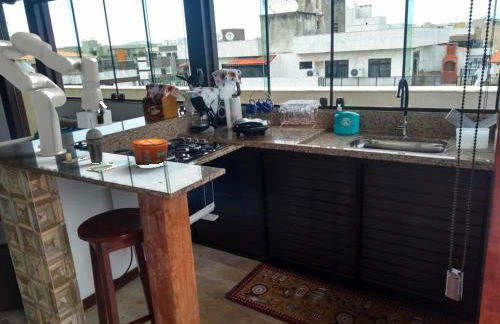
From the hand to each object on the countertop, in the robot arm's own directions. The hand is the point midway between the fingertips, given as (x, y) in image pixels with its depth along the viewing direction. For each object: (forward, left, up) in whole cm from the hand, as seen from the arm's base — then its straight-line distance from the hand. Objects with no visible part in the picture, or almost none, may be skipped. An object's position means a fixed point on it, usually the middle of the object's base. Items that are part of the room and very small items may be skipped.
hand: (95, 122), depth 175 cm
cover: (0, 0, -1) cm, 1 cm away
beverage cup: (+12, -12, -16) cm, 23 cm away
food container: (+36, -3, -16) cm, 39 cm away
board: (+22, -13, -16) cm, 30 cm away
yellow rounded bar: (0, -13, -16) cm, 20 cm away
